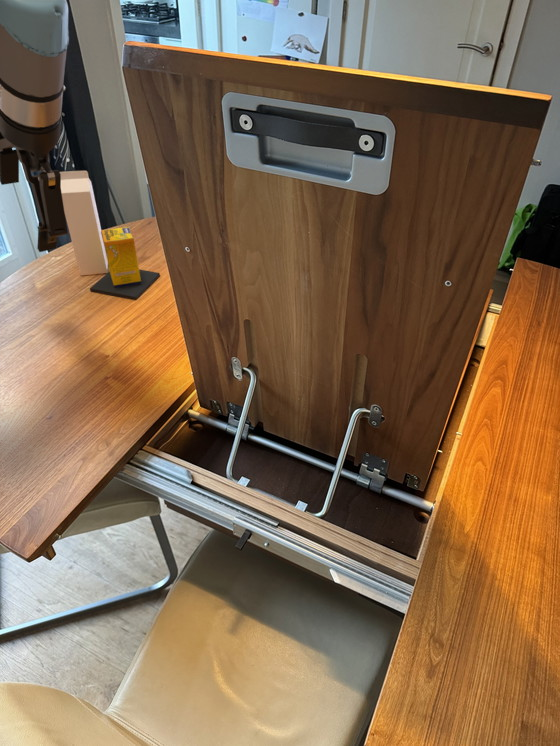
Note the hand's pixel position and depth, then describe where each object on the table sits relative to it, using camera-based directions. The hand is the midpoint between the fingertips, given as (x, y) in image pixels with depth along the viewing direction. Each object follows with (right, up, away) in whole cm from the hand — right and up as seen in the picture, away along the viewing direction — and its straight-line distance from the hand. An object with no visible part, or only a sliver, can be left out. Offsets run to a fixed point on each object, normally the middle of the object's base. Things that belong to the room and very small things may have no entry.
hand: (27, 214), depth 84 cm
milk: (-2, -2, +35) cm, 36 cm away
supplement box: (+7, -5, +30) cm, 31 cm away
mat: (+7, -6, +30) cm, 32 cm away
